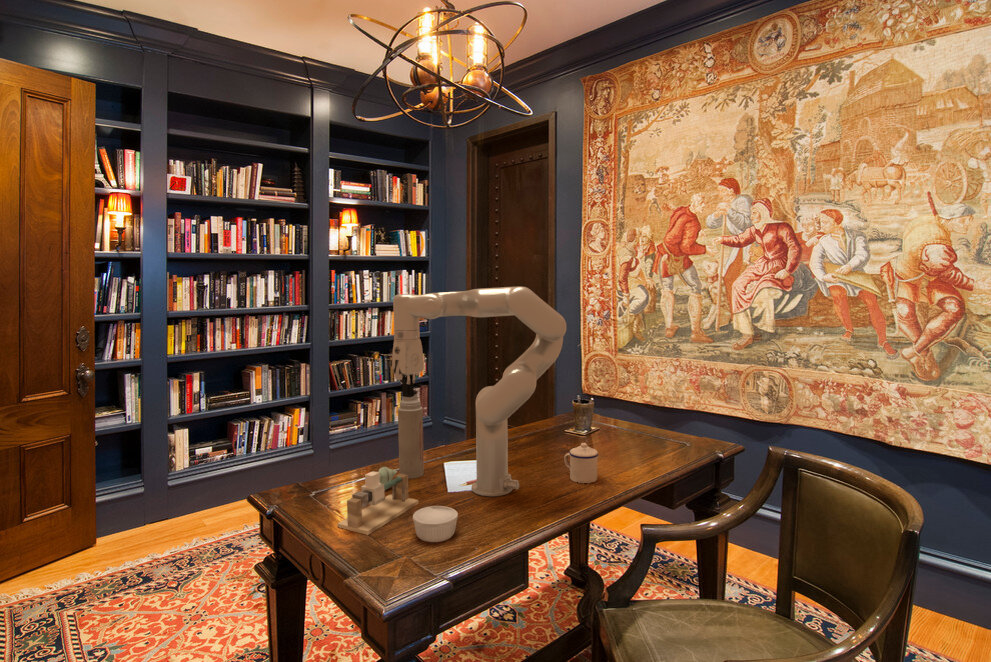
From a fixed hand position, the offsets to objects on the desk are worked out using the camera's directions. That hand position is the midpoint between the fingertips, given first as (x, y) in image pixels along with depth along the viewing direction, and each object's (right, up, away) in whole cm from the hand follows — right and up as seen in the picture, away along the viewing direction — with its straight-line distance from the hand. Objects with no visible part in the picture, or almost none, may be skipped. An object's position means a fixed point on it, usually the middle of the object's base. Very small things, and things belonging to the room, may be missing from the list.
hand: (408, 396), depth 164 cm
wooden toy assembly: (-5, -31, -15) cm, 34 cm away
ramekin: (+11, -32, -27) cm, 43 cm away
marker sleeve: (-7, -26, -18) cm, 32 cm away
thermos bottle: (-2, -28, +17) cm, 33 cm away
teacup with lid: (+53, -28, +12) cm, 62 cm away
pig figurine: (-8, -29, +4) cm, 30 cm away
